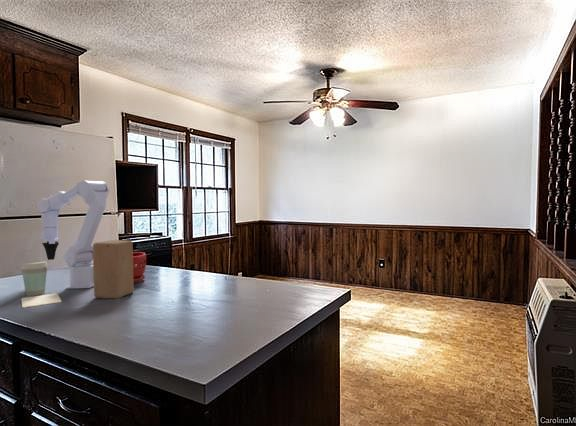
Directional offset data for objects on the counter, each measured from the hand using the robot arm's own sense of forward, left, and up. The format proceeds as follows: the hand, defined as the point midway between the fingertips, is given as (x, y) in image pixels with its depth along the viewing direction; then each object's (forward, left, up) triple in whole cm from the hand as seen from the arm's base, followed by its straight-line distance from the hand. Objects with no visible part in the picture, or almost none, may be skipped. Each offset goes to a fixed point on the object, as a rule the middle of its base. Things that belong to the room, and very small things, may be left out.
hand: (50, 259), depth 155 cm
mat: (-12, +27, -10) cm, 31 cm away
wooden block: (-35, +21, -11) cm, 42 cm away
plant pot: (-32, -2, -11) cm, 34 cm away
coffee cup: (-4, +17, -11) cm, 20 cm away
